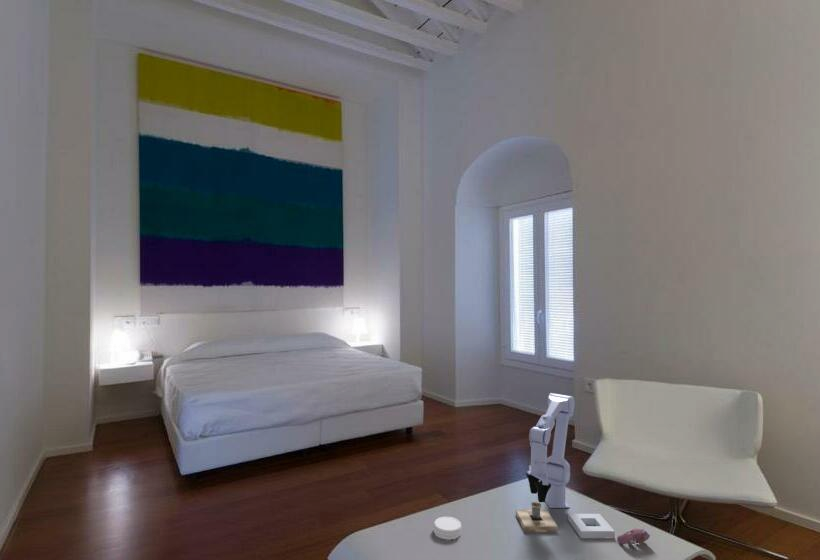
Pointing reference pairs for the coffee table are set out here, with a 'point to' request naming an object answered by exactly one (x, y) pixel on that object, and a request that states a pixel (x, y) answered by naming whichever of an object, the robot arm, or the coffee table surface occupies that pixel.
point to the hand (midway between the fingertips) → (537, 497)
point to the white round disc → (447, 528)
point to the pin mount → (536, 526)
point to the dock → (596, 531)
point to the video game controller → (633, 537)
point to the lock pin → (535, 511)
